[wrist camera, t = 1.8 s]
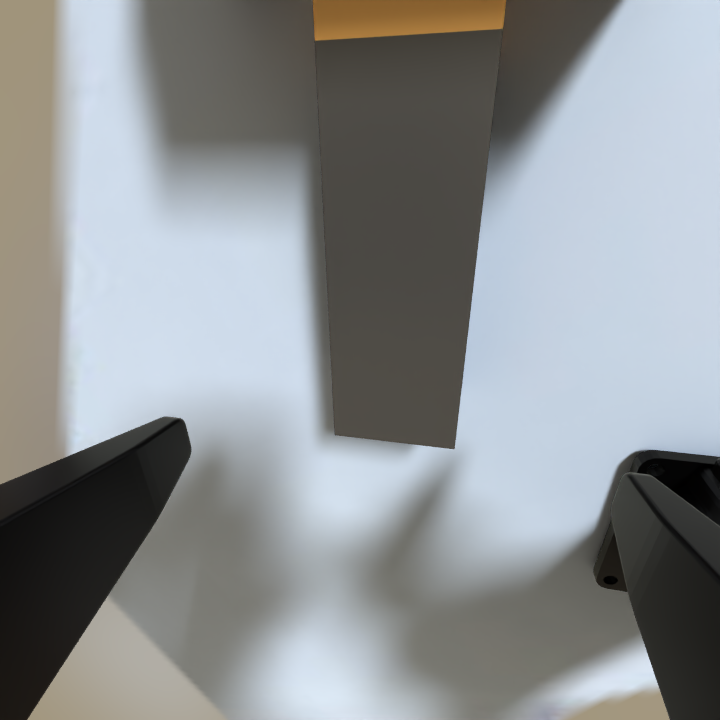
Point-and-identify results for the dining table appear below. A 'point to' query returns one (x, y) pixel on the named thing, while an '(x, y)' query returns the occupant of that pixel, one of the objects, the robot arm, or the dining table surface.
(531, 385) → the dining table surface
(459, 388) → the plug
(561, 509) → the dining table surface
